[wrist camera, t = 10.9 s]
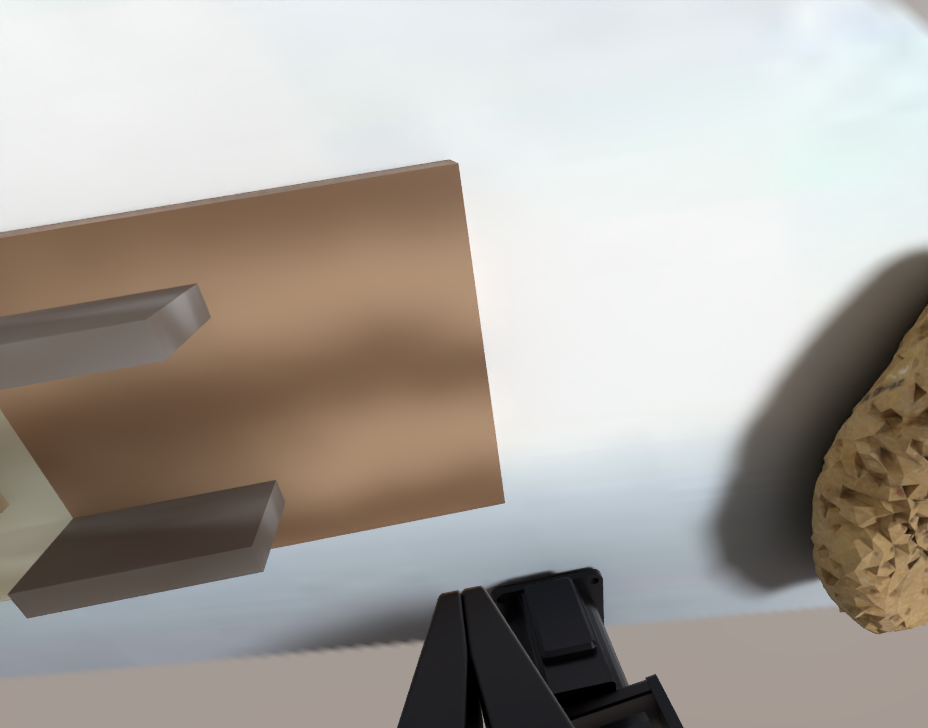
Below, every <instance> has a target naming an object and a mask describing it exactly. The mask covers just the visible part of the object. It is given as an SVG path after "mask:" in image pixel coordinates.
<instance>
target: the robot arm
mask: <svg viewBox="0 0 928 728" xmlns="http://www.w3.org/2000/svg"><path fill="white" fill-rule="evenodd" d="M481 709H482V710H481ZM482 714H483V718H484V723H485V727H486V728H683V726H682V724H681V722H680V720H679V718H678V716H677V714H676V712H675V710H674V708H673V706H672V705H671V703H670V701H669V699H668V697H667V695H666V693H665V691H664V689H663V687H662V685H661V683H660V681H659V679H658V678H657V676H656V674H654V675H651V676H649V677H646V680H644V681H641V682H638V683H635V684H632V685H628V682H627V680H626V677H625V675H624V672H623V670H622V668H621V665H620V663H619V660H618V658H617V656H616V653H615V651H614V648H613V646H612V644H611V641H610V639H609V636H608V634H607V632H606V629H605V627H604V609H603V578H602V576H601V573H600V571H598V570H596V569H591V570H586V571H581V572H576V573H571V574H566V575H561V576H556V577H551V578H546V579H542V580H537V581H532V582H527V583H522V584H517V585H512V586H507V587H502V588H498V589H495V590H494V591H493V592H492V593H491V597H490V595H489V594H488V592H487V591H486V589H485V588H484V587H483V586H476V587H471V588H466V589H464V590H463V592H462V593H461V591H458V590H457V591H452V592H447V593H442V594H441V595H440V596H439V598H438V600H437V604H436V607H435V610H434V613H433V616H432V619H431V622H430V626H429V629H428V632H427V635H426V638H425V641H424V645H423V648H422V651H421V654H420V657H419V660H418V664H417V667H416V670H415V673H414V676H413V679H412V682H411V686H410V689H409V692H408V695H407V698H406V701H405V705H404V708H403V711H402V714H401V717H400V721H399V724H398V727H397V728H483V718H482Z"/></svg>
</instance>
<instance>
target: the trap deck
mask: <svg viewBox="0 0 928 728" xmlns="http://www.w3.org/2000/svg"><path fill="white" fill-rule="evenodd" d="M0 492H1V494H2V495H3V496H4V498H5V499H6V500H7V502H8V503H9V506H8V507H7V508H6V509H5V510H4V511H3V512H2V513H1V514H0V602H3V601H8V600H12V601H13V602H14V603H15V604H16V606H17V607H18V608H19V609H20V610H21V612H22V613H23V614H24V615H25V616H26V618H32V617H37V616H42V615H47V614H52V613H57V612H62V611H67V610H72V609H77V608H82V607H87V606H92V605H97V604H102V603H107V602H112V601H117V600H122V599H128V598H133V597H138V596H143V595H148V594H153V593H158V592H163V591H168V590H173V589H178V588H183V587H188V586H193V585H198V584H203V583H208V582H213V581H218V580H224V579H229V578H234V577H239V576H244V575H249V574H254V573H259V572H263V571H264V568H265V565H266V562H267V559H268V556H269V552H270V549H273V548H278V547H284V546H289V545H294V544H299V543H304V542H309V541H314V540H319V539H324V538H329V537H335V536H340V535H345V534H350V533H355V532H360V531H365V530H370V529H375V528H380V527H386V526H391V525H396V524H401V523H406V522H411V521H416V520H421V519H426V518H431V517H437V516H442V515H447V514H452V513H457V512H462V511H467V510H472V509H477V508H483V507H488V506H493V505H498V504H503V503H505V500H504V492H503V485H502V478H501V471H500V463H499V456H498V449H497V441H496V434H495V427H494V420H493V412H492V405H491V398H490V390H489V383H488V376H487V369H486V361H485V354H484V347H483V339H482V332H481V325H480V318H479V310H478V303H477V296H476V289H475V281H474V274H473V267H472V259H471V252H470V245H469V238H468V230H467V223H466V216H465V208H464V201H463V194H462V187H461V179H460V172H459V165H458V163H456V162H454V161H452V160H444V161H438V162H432V163H426V164H420V165H413V166H407V167H401V168H395V169H389V170H383V171H376V172H370V173H364V174H358V175H352V176H346V177H340V178H333V179H327V180H321V181H315V182H309V183H303V184H296V185H290V186H284V187H278V188H272V189H266V190H260V191H253V192H247V193H241V194H235V195H229V196H223V197H217V198H210V199H204V200H198V201H192V202H186V203H180V204H173V205H167V206H161V207H155V208H149V209H143V210H137V211H130V212H124V213H118V214H112V215H106V216H100V217H93V218H87V219H81V220H75V221H69V222H63V223H57V224H50V225H44V226H38V227H32V228H26V229H20V230H14V231H7V232H1V233H0Z"/></svg>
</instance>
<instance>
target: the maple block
mask: <svg viewBox="0 0 928 728" xmlns="http://www.w3.org/2000/svg"><path fill="white" fill-rule="evenodd" d="M8 506H9V503H8V502H7V500H6V499H5V498H4V496H3V495H2V494H1V492H0V514H1V513H2V512H3V511H4V510H5V509H6V508H7V507H8Z"/></svg>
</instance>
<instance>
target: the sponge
mask: <svg viewBox="0 0 928 728" xmlns="http://www.w3.org/2000/svg"><path fill="white" fill-rule="evenodd" d="M824 461H825V463H824V465H823V469H822V472H821V473H820V475H819V477H818V479H817V481H816V485H815V490H814V496H813V500H812V503H813V513H812V529H813V534H812V536H811V538H810V540H812V541H813V544H814V548H813V559H814V563H815V573H816V574H817V576H818V577H819V579H820V580H821V582H822V584H823V587H824V588H825V590H826V591H827V593H828V595H829V596H830V598H831V599H832V600H833V601H834V602H835V603H836V604H837V605H838V607H839V609H840V612H846V613H847V614H848V615H849V616H850V617H851V618H852V619H853V620H854V621H856V622H857V623H858V624H860V625H861V626H862V627H863V628H865V629H867V630H869V631H871V632H873V633H875V634H881V633H885V632H892V631H900V630H906V629H912V628H914V627H917V626H919V625H923V626H924V625H926V624H927V623H928V304H927V306H926V307H925V309H924V310H923V311H922V313H921V314H920V316H919V318H918V319H917V321H916V323H915V324H914V326H913V327H912V328H911V329H910V330H908V331H907V332H906V333H905V335H904V337H903V339H902V341H901V342H900V344H899V348H898V351H897V352H896V354H895V355H894V357H893V360H892V362H891V363H890V364H889V366H888V367H887V368H886V369H885V371H884V372H883V373H882V374H881V376H880V377H879V378H878V379H877V381H876V382H875V383H874V385H873V386H872V388H871V389H870V390H869V392H868V393H867V394H866V395H865V396H864V397H863V398H862V399H861V401H860V402H859V403H858V404H857V405H856V406H855V407H854V408H853V414H852V415H851V417H849V418H847V420H846V421H845V423H844V424H843V425H842V427H841V428H840V430H839V431H838V432H837V434H836V437H835V440H834V442H833V444H832V446H831V447H830V449H829V451H828V452H827V454H826V455H825V457H824Z"/></svg>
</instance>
